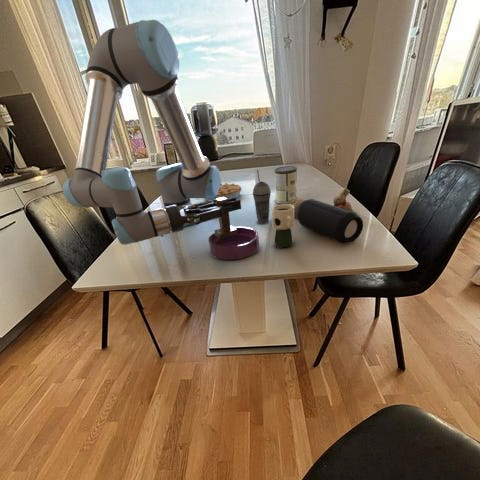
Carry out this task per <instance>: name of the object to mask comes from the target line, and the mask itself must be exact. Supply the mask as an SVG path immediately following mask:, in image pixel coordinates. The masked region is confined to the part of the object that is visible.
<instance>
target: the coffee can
mask: <svg viewBox="0 0 480 480" xmlns="http://www.w3.org/2000/svg"><path fill="white" fill-rule="evenodd" d="M297 173H298V167H297V166H295V165H294V166H292V165H291V166H290V165H285V166H279V167H277V168H275V169H274V190H275V203H277V204H291V203H292V202H293V201H295V200H297V181H298V180H297V179H298V178H297V176H298V175H297Z"/></svg>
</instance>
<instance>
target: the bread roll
mask: <svg viewBox="0 0 480 480" xmlns="http://www.w3.org/2000/svg"><path fill="white" fill-rule="evenodd" d="M305 200H306V199H303V198H296V200H295V201H293V202H291V203H290V204H291V205H293V206H294V219H297V217H296V211H297V208H298V206H299V205H300V203H301V202H303V201H305Z"/></svg>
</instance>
